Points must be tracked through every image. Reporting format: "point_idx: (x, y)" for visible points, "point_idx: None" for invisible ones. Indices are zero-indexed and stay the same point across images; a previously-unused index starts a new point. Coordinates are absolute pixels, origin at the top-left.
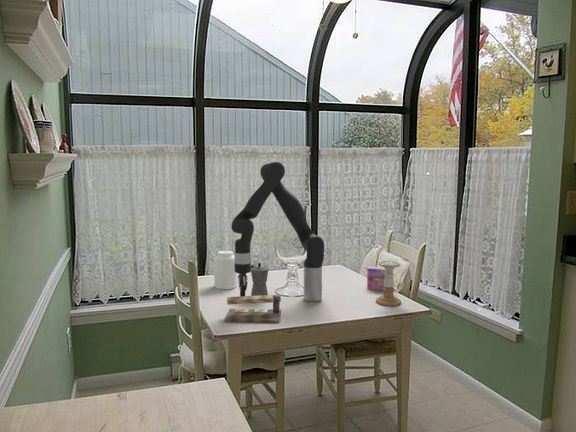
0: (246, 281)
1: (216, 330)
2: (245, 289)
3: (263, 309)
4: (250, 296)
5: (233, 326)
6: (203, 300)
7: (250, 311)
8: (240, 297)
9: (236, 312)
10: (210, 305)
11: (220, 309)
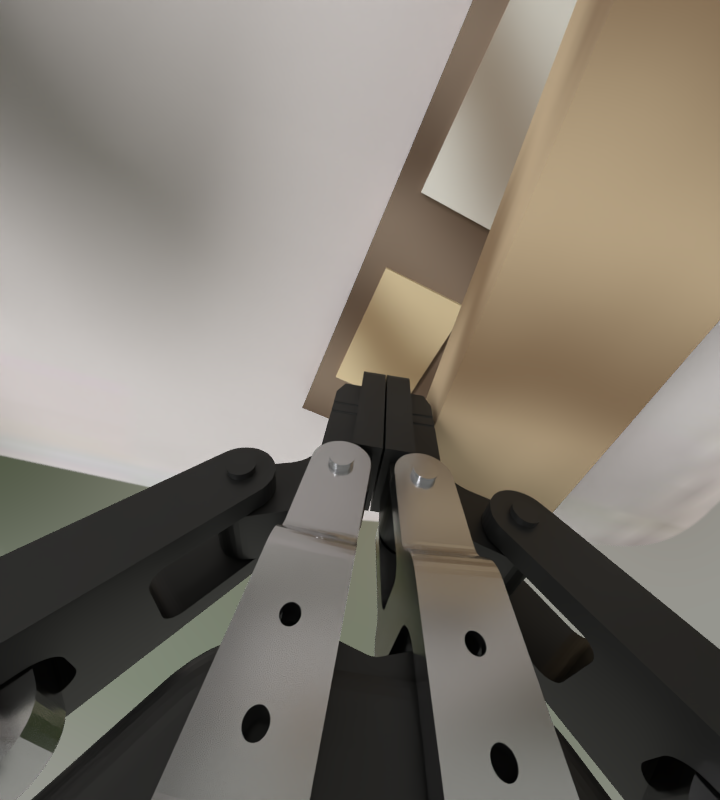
0: (566, 791)
1: (607, 540)
2: (556, 539)
3: (491, 60)
4: (509, 337)
5: (626, 463)
6: (67, 468)
7: (450, 269)
8: (467, 474)
9: (415, 393)
10: (167, 462)
11: (256, 437)
